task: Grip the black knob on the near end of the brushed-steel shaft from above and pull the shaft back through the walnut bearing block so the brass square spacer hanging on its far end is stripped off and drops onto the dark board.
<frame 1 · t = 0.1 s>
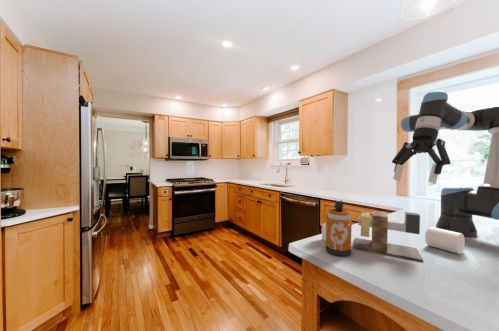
hand: (412, 181, 81), 28 cm above the countertop, tool tilted 20°, fingers open, 13 cm apart
mug: (446, 249, 86), on the countertop
canister: (337, 251, 82), on the countertop
medicine bottle: (333, 241, 92), on the countertop
spacer: (365, 224, 87), point 9 cm above the countertop, touching shaft
bracket: (384, 249, 84), on the countertop
shaft: (386, 219, 84), point 12 cm above the countertop, slide at 0.0 cm, touching spacer
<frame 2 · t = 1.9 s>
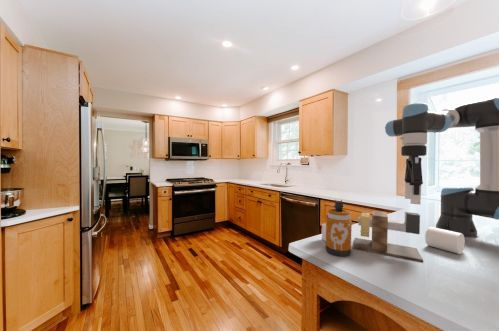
hand: (411, 201, 79), 20 cm above the countertop, tool pointing down, fingers open, 13 cm apart
nothing on the countertop moved.
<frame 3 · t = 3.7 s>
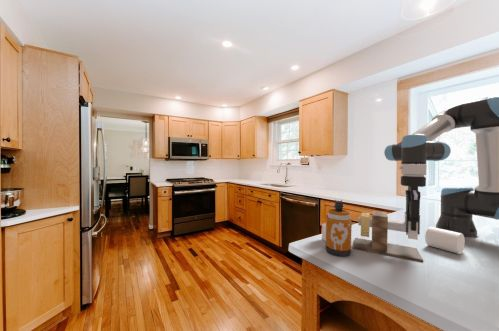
hand: (411, 236, 80), 7 cm above the countertop, tool pointing down, fingers closed on shaft, 4 cm apart
shaft: (386, 219, 84), point 12 cm above the countertop, slide at 0.0 cm, touching gripper, spacer
everything else where it was.
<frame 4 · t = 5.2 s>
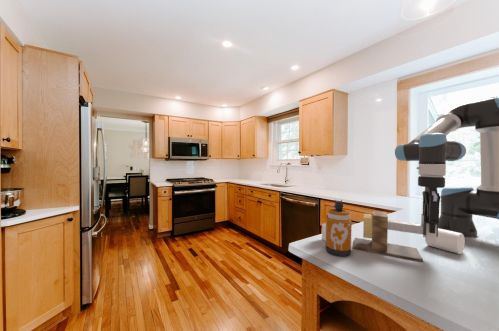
hand: (429, 239, 77), 7 cm above the countertop, tool pointing down, fingers closed on shaft, 4 cm apart
spacer: (367, 225, 87), point 9 cm above the countertop
shaft: (402, 221, 81), point 12 cm above the countertop, slide at 5.1 cm, touching gripper
everything else where it was.
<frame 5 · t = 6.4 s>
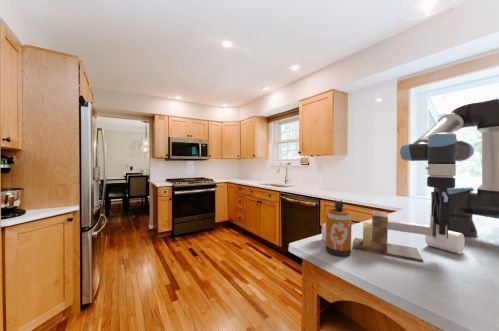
hand: (439, 240, 76), 7 cm above the countertop, tool pointing down, fingers closed on shaft, 4 cm apart
spacer: (367, 234, 87), point 5 cm above the countertop, touching bracket
shaft: (411, 222, 80), point 12 cm above the countertop, slide at 7.8 cm, touching gripper
everything else where it was.
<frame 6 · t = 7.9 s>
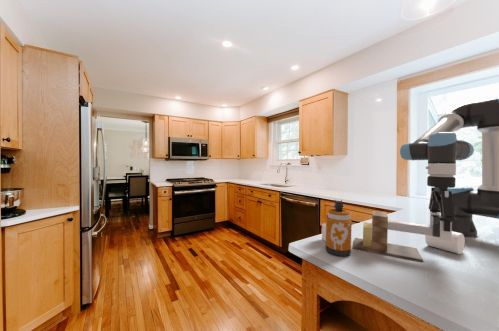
hand: (439, 234, 76), 9 cm above the countertop, tool pointing down, fingers open, 13 cm apart
shaft: (411, 222, 80), point 12 cm above the countertop, slide at 7.8 cm
everything else where it was.
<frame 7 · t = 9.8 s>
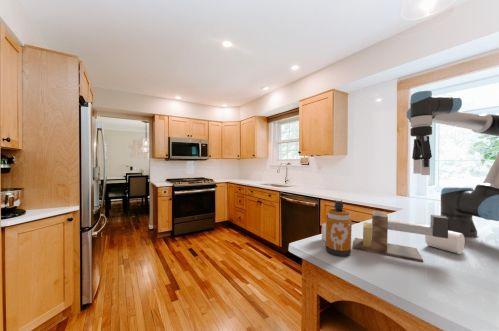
hand: (421, 174, 94), 30 cm above the countertop, tool pointing down, fingers open, 13 cm apart
nothing on the countertop moved.
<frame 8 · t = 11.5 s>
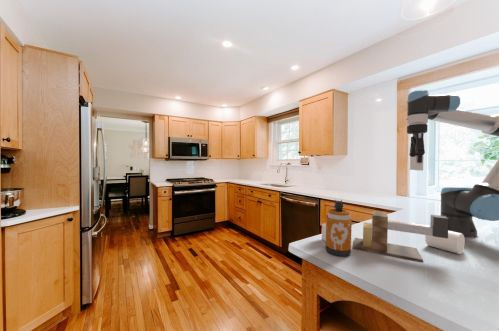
hand: (416, 170, 98), 32 cm above the countertop, tool pointing down, fingers open, 13 cm apart
nothing on the countertop moved.
at the end: spacer inside the target area (0.8 cm from its centre), point 4.8 cm above the countertop; shaft slide at 7.8 cm; spacer touching bracket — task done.
